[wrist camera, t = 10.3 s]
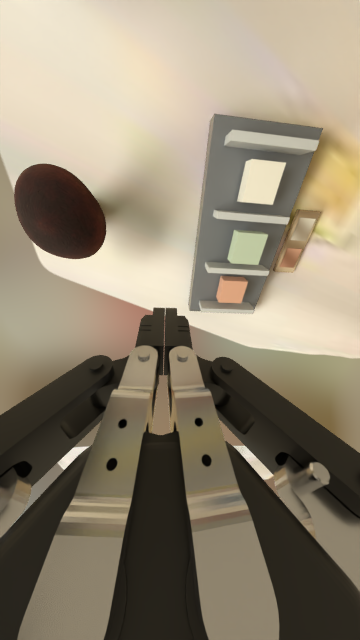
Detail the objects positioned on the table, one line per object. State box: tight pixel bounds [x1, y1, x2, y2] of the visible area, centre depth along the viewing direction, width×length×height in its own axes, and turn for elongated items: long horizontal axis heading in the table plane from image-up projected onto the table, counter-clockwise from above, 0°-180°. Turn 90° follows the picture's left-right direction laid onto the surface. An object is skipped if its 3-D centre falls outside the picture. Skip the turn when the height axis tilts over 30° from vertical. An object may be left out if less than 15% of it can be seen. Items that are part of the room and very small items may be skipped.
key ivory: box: [237, 159, 286, 205], centre depth 28 cm, size 5×5×5 cm
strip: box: [273, 210, 321, 273], centre depth 37 cm, size 12×4×1 cm, turn 176°
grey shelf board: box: [188, 114, 323, 314], centre depth 34 cm, size 32×16×6 cm, turn 176°
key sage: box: [227, 230, 268, 265], centre depth 32 cm, size 5×5×5 cm
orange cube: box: [216, 276, 248, 303], centre depth 39 cm, size 5×5×5 cm
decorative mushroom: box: [14, 164, 106, 259], centre depth 26 cm, size 11×11×15 cm
